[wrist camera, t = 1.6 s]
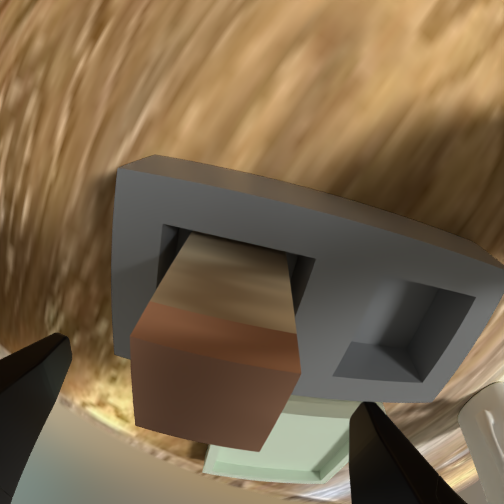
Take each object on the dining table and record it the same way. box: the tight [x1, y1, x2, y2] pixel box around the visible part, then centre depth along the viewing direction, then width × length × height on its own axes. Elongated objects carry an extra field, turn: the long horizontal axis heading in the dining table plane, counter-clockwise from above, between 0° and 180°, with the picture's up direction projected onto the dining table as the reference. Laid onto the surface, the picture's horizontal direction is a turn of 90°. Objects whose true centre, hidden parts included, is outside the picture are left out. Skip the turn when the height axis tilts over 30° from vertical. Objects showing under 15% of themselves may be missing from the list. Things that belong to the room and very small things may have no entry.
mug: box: [458, 382, 504, 504], centre depth 15 cm, size 10×7×12 cm, turn 52°
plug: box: [130, 231, 301, 452], centre depth 11 cm, size 4×4×8 cm
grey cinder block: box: [111, 155, 504, 403], centre depth 14 cm, size 18×9×4 cm, turn 77°
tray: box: [203, 395, 386, 484], centre depth 21 cm, size 12×12×2 cm
